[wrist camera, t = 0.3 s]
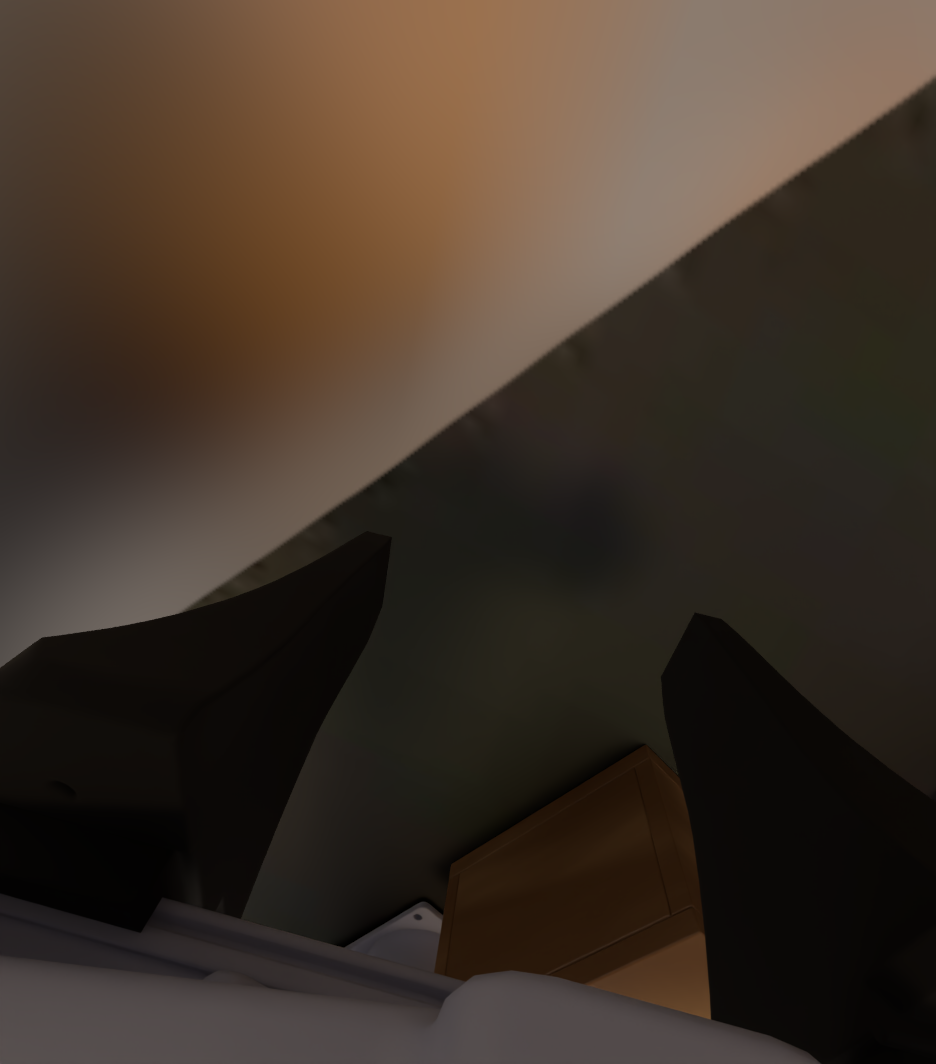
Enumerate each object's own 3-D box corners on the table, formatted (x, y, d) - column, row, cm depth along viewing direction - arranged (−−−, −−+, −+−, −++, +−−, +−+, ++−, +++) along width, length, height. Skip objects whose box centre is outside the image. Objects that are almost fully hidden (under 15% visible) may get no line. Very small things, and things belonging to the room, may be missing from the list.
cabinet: (832, 930, 28) (960, 1175, 19) (627, 1016, 32) (660, 1247, 24) (645, 743, 25) (700, 932, 17) (450, 863, 29) (418, 1062, 21)
